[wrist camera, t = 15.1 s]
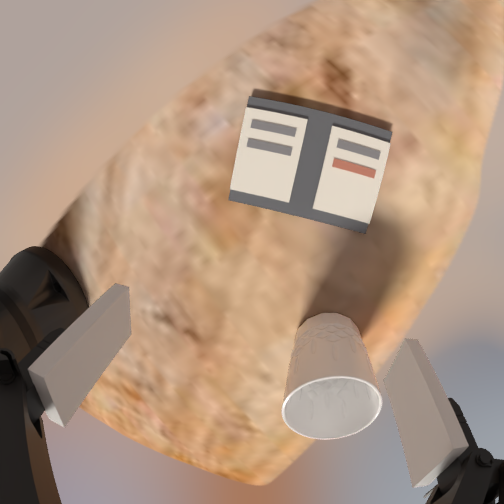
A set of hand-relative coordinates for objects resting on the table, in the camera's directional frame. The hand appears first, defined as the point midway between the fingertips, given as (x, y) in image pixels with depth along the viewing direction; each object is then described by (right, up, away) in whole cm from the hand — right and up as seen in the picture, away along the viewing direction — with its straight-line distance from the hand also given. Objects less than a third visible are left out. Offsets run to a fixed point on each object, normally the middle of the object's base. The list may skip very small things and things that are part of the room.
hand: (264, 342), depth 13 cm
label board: (+4, +11, +11) cm, 16 cm away
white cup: (+7, -5, +17) cm, 19 cm away
